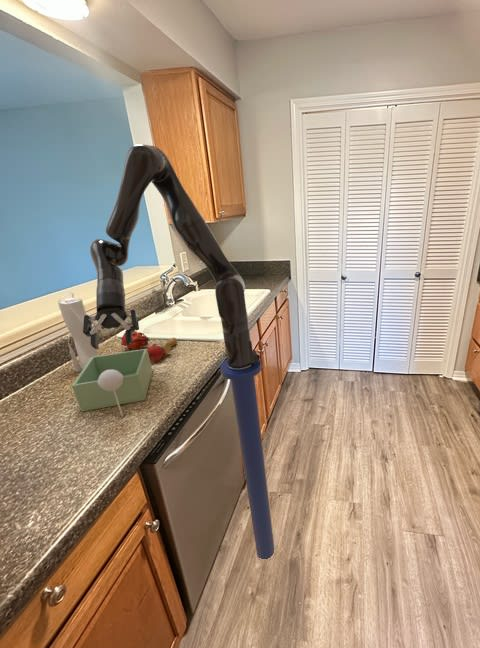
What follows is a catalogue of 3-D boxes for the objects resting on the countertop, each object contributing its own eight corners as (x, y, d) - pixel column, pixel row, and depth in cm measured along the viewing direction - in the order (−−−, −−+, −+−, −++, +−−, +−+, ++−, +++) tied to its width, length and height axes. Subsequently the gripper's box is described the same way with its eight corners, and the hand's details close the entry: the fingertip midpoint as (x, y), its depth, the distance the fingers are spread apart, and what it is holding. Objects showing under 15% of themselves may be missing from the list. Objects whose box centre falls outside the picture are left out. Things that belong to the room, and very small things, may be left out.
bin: (152, 370, 118) (147, 348, 114) (144, 400, 100) (137, 374, 97) (99, 379, 113) (91, 356, 110) (81, 411, 96) (71, 385, 92)
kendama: (164, 346, 140) (140, 361, 123) (165, 333, 138) (140, 345, 121) (181, 350, 139) (159, 364, 122) (182, 336, 137) (160, 349, 120)
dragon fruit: (124, 350, 139) (151, 354, 138) (112, 346, 131) (141, 351, 130) (129, 331, 141) (156, 335, 140) (118, 326, 132) (146, 330, 132)
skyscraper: (81, 363, 126) (57, 293, 115) (104, 359, 128) (82, 290, 117) (75, 373, 119) (48, 299, 108) (100, 368, 121) (76, 296, 110)
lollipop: (133, 407, 97) (120, 363, 91) (134, 418, 92) (120, 372, 86) (110, 414, 94) (95, 369, 88) (110, 425, 89) (94, 378, 83)
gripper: (79, 293, 93) (78, 345, 88) (132, 288, 97) (135, 337, 91) (90, 305, 100) (90, 354, 95) (139, 300, 104) (142, 346, 98)
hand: (112, 345), depth 93 cm, fingers open, 8 cm apart
